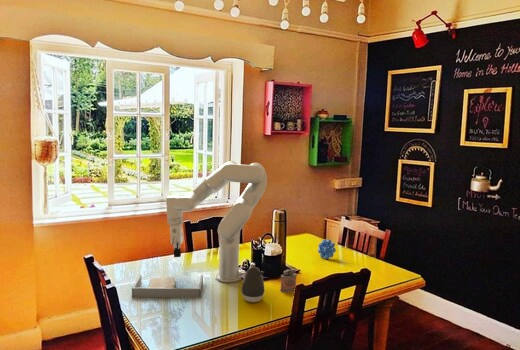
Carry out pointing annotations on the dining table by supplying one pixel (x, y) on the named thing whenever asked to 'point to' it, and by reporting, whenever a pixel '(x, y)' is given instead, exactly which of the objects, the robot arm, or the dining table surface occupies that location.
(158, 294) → the box
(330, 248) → the blue knobbly wheel
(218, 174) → the robot arm
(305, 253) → the dining table surface
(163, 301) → the dining table surface
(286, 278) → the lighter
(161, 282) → the washcloth
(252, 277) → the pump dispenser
